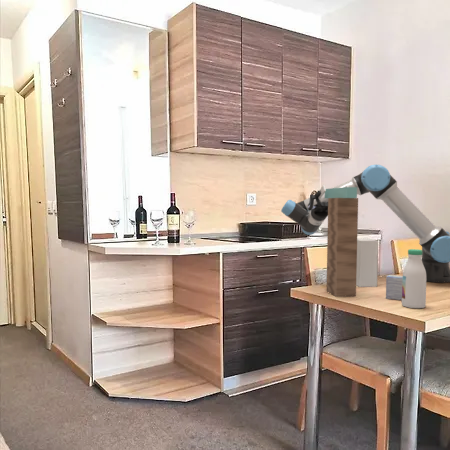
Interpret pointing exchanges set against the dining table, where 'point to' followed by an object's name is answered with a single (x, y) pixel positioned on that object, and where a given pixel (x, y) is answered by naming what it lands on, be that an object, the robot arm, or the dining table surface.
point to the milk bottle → (414, 281)
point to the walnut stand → (342, 246)
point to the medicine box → (394, 287)
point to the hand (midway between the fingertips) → (336, 187)
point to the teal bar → (341, 192)
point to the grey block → (367, 263)
